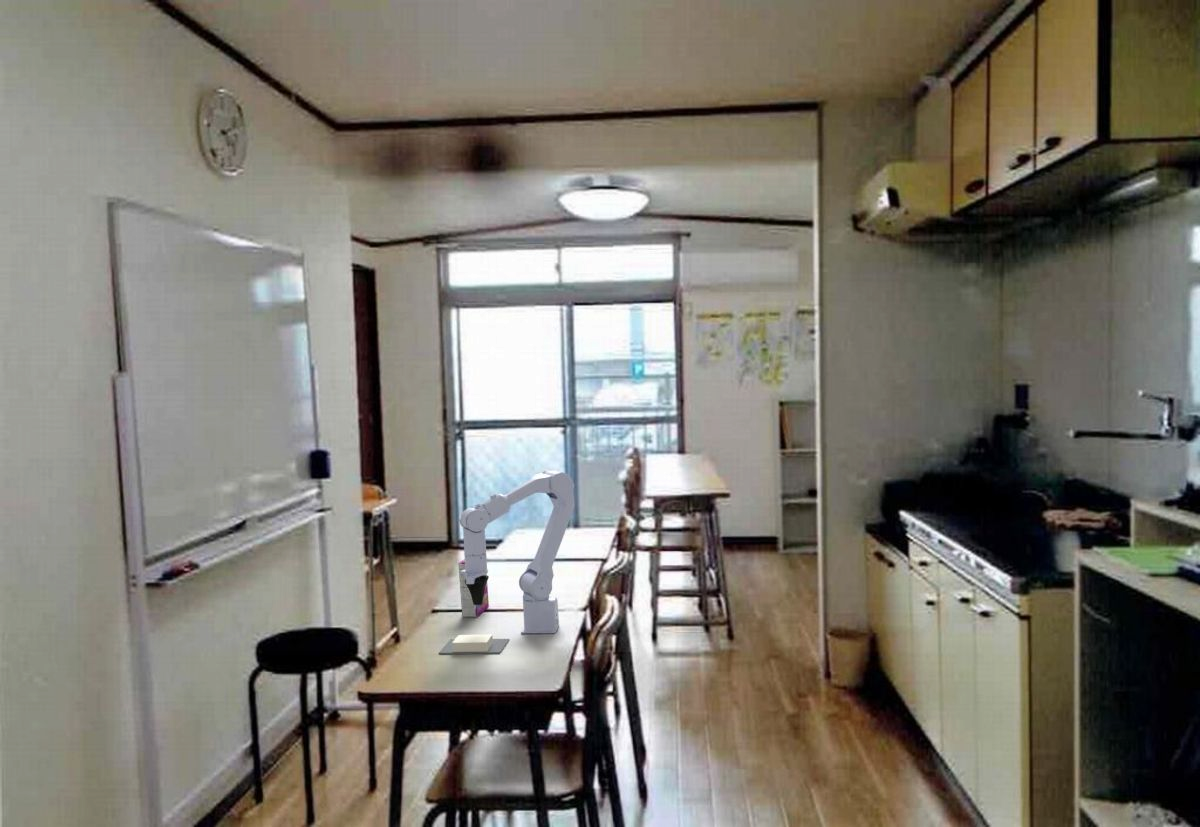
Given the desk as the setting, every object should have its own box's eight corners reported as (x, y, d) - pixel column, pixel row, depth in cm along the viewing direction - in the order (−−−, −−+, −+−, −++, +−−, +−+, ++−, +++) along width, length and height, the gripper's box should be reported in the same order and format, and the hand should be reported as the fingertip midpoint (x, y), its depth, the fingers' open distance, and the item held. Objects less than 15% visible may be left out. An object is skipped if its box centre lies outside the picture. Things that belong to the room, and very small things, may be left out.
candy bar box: (473, 607, 268) (470, 553, 267) (489, 607, 267) (486, 553, 266) (460, 617, 257) (457, 562, 256) (476, 617, 256) (474, 562, 255)
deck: (492, 634, 230) (486, 642, 224) (492, 643, 230) (487, 651, 224) (458, 635, 231) (452, 642, 224) (459, 644, 231) (452, 652, 225)
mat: (509, 640, 234) (509, 638, 234) (500, 653, 223) (500, 652, 223) (450, 640, 236) (450, 639, 236) (438, 654, 225) (438, 652, 225)
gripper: (467, 548, 241) (470, 597, 242) (453, 560, 227) (456, 612, 227) (492, 547, 240) (495, 596, 241) (480, 559, 226) (482, 611, 227)
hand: (478, 604), depth 234 cm, fingers closed
